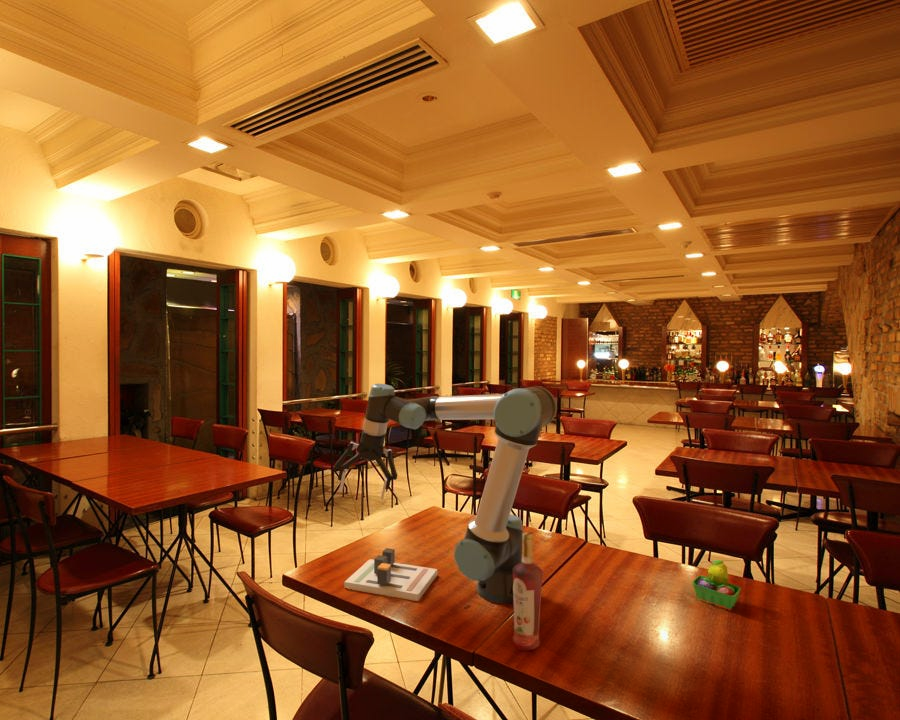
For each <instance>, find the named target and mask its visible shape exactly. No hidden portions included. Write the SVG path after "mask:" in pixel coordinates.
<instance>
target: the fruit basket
mask: <svg viewBox="0 0 900 720" xmlns="http://www.w3.org/2000/svg"><path fill="white" fill-rule="evenodd" d="M707 573H708V574H707V575H708V576H705V575H699V576H697V577H696V578H695V579H694V580H693V581H691V583H692V587H693V589H694V594H695V596H696V599H697V598H699V599H703V600H705V601H708V602H712V603H715V604H718V605H721V606H724V607H726V608H730V609H731V608H732V607H733V606H734V607H735V605H736V604H737V600H738V598H739V595H740V593H741V590H742V588H741V587H740V586H737V585H735V584H732V583H730V582H728V580H729V572H728V566H727V565H726V564H725V563H724V561H723V560H719V559H716V560H714V562H713V563H711V566H710V567H709V568H708V570H707ZM735 603H736V604H735ZM734 604H735V605H734ZM734 607H733V608H734ZM733 608H732V609H733ZM732 609H731V610H732Z"/></svg>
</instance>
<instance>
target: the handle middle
mask: <svg viewBox="0 0 900 720" xmlns="http://www.w3.org/2000/svg"><path fill="white" fill-rule="evenodd" d="M373 560H374V573H375V574H378V566H379V565H380V564H381V563H385V564H387V557H386V556H382V555H380V554H379V555H377V556H376V557H375V558H374V559H373Z"/></svg>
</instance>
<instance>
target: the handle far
mask: <svg viewBox="0 0 900 720" xmlns="http://www.w3.org/2000/svg"><path fill="white" fill-rule="evenodd" d="M395 551H396V550H395V548H390V547H389V548H388V547H386V548H384V550H383V551H382V552H381V553H382V555H381V556H386V557H387V564H391V566H392V565H393V564H394V563H396V562H395V561H396V560H395V559H396V557H395V555H396V553H395Z"/></svg>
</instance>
